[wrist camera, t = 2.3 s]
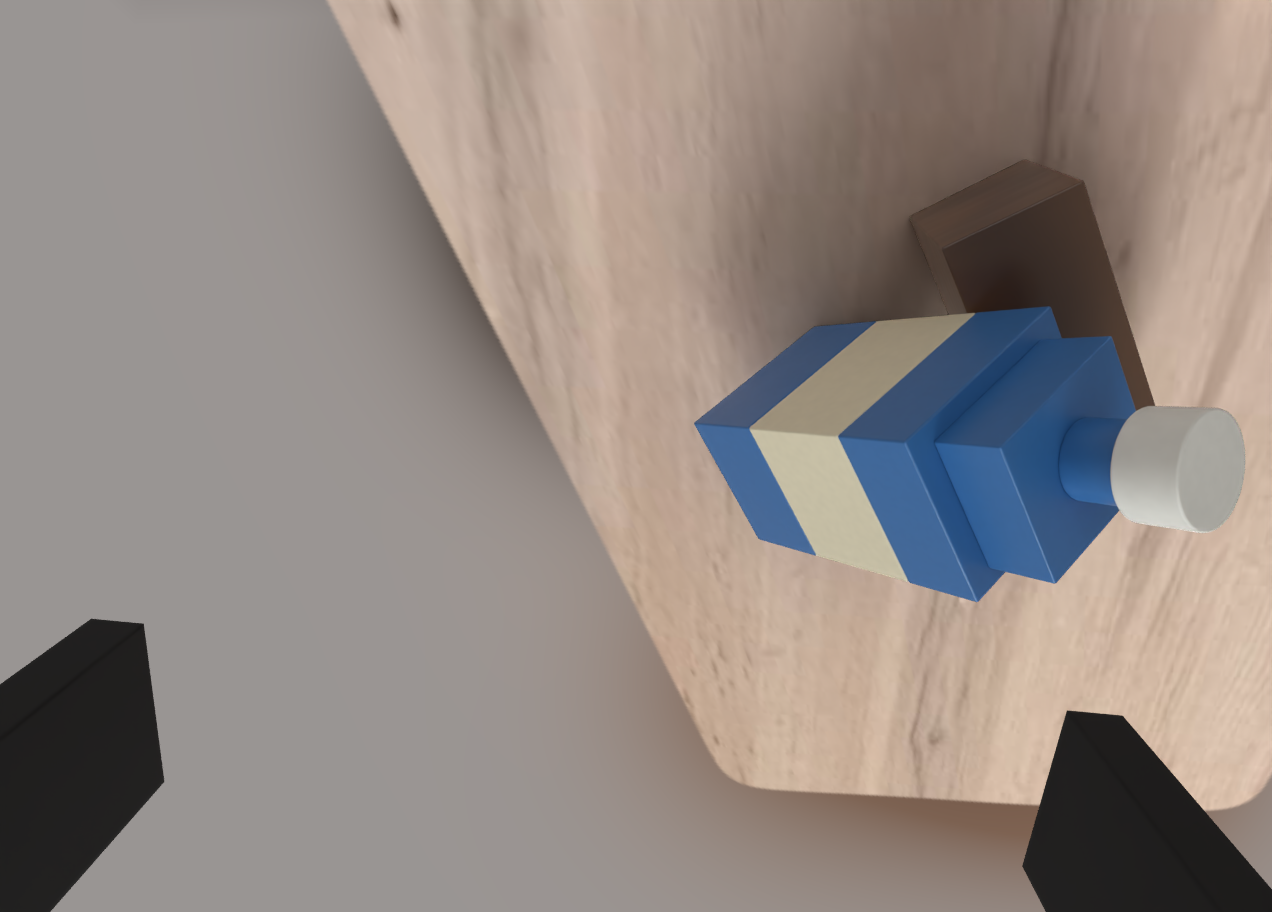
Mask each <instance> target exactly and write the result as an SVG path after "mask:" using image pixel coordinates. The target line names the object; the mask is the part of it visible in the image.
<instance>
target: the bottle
mask: <svg viewBox="0 0 1272 912" xmlns="http://www.w3.org/2000/svg"><path fill="white" fill-rule="evenodd" d="M694 424H695V426H696V428H697V430H698V431H699V433H700V435H701V437H702V439H703V440H704V442H705V444H706V446H707V448H708V449H709V451H710V453H711V455H712V456H713V458H714V460H715V462H716V464H717V465H718V467H719V469H720V471H721V473H722V474H723V476H724V478H725V480H726V481H727V483H728V485H729V487H730V489H731V490H732V492H733V494H734V496H735V498H736V499H737V501H738V503H739V505H740V506H741V508H742V510H743V512H744V514H745V515H746V517H747V519H748V521H749V523H750V524H751V526H752V528H753V530H754V532H755V533H756V535H757V537H758V539H760V540H763V541H767V542H770V543H774V544H777V545H781V546H784V547H788V548H791V549H795V550H798V551H802V552H805V553H808V554H812V555H817V556H819V557H822V558H826V559H829V560H833V561H836V562H840V563H843V564H847V565H850V566H854V567H857V568H861V569H864V570H867V571H871V572H874V573H878V574H881V575H885V576H888V577H892V578H895V579H899V580H902V581H906V582H908V581H909V582H910V583H912V584H916V585H919V586H923V587H926V588H930V589H933V590H937V591H940V592H944V593H947V594H951V595H954V596H957V597H961V598H964V599H968V600H971V601H975V602H978V601H979V600H980V599H981V598H982V597H983V596H984V595H985V594H986V593H987V591H988V590H989V589H990V588H991V587H992V586H993V585H994V584H995V583H996V582H997V580H998V579H999V578H1000V577H1001V576H1002V575H1003V574H1004V573H1005V572H1009V573H1013V574H1017V575H1021V576H1025V577H1029V578H1034V579H1038V580H1042V581H1046V582H1050V583H1057V582H1058V580H1059V579H1060V578H1061V577H1062V576H1063V575H1064V573H1065V572H1066V571H1067V570H1068V569H1069V568H1070V567H1071V565H1072V564H1073V563H1074V562H1075V561H1076V560H1077V559H1078V557H1079V556H1080V555H1081V554H1082V553H1083V552H1084V550H1085V549H1086V548H1087V547H1088V546H1089V545H1090V544H1091V542H1092V541H1093V540H1094V539H1095V538H1096V537H1097V536H1098V534H1099V533H1100V532H1101V531H1102V530H1103V529H1104V527H1105V526H1106V525H1107V524H1108V523H1109V522H1110V521H1111V519H1112V518H1113V517H1114V516H1115V515H1116V514H1117V513H1118V511H1119V510H1120V512H1121V513H1122V514H1123V515H1124V516H1125V517H1126V518H1127V519H1129V520H1131V521H1132V522H1135V523H1140V524H1146V525H1152V526H1159V527H1165V528H1172V529H1178V530H1185V531H1191V532H1198V533H1207V532H1211V531H1214V530H1216V529H1217V528H1219V527H1220V526H1221V525H1222V524H1223V523H1224V522H1225V521H1226V520H1227V519H1228V517H1229V516H1230V515H1231V513H1232V511H1233V509H1234V507H1235V505H1236V503H1237V501H1238V498H1239V495H1240V492H1241V488H1242V484H1243V479H1244V472H1245V447H1244V441H1243V437H1242V433H1241V430H1240V428H1239V425H1238V423H1237V422H1236V420H1235V419H1234V417H1233V416H1232V415H1231V414H1230V413H1228V412H1227V411H1225V410H1223V409H1220V408H1205V407H1170V406H1147V407H1143V408H1141V409H1139V410H1137V411H1136V409H1135V406H1134V403H1133V400H1132V397H1131V394H1130V391H1129V388H1128V385H1127V382H1126V379H1125V376H1124V373H1123V370H1122V367H1121V363H1120V360H1119V357H1118V354H1117V351H1116V348H1115V345H1114V342H1113V339H1112V337H1111V336H1103V337H1082V338H1062V337H1061V334H1060V332H1059V329H1058V326H1057V323H1056V320H1055V317H1054V315H1053V312H1052V309H1051V307H1049V306H1048V307H1036V308H1024V309H1013V310H1001V311H989V312H978V313H976V314H975V313H967V314H955V315H943V316H932V317H920V318H908V319H897V320H885V321H877V322H876V321H873V322H862V323H850V324H838V325H827V326H815V327H813V328H812V329H811V330H809V331H808V332H807V333H806V334H804V335H803V336H802V337H801V338H799V339H798V340H797V341H796V342H794V343H793V344H792V345H791V346H789V347H788V348H787V349H786V350H784V351H783V352H782V353H781V354H779V355H778V356H777V357H776V358H774V359H773V360H772V361H771V362H769V363H768V364H767V365H766V366H764V367H763V368H762V369H761V370H759V371H758V372H757V373H756V374H755V375H753V376H752V377H751V378H750V379H748V380H747V381H746V382H745V383H743V384H742V385H741V386H740V387H738V388H737V389H736V390H735V391H733V392H732V393H731V394H730V395H728V396H727V397H726V398H725V399H723V400H722V401H721V402H720V403H718V404H717V405H716V406H715V407H713V408H712V409H711V410H710V411H708V412H707V413H706V414H705V415H703V416H702V417H701V418H700V419H698V420H697V421H696V422H695V423H694Z"/></svg>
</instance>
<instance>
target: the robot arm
mask: <svg viewBox="0 0 1272 912" xmlns="http://www.w3.org/2000/svg"><path fill="white" fill-rule="evenodd" d="M163 783H164V776H163V769H162V761H161V753H160V745H159V738H158V730H157V722H156V715H155V707H154V699H153V692H152V685H151V676H150V669H149V661H148V653H147V646H146V638H145V631H144V624H141V623H129V622H119V621H108V620H97V619H90V620H89V621H88V622H86V623H85V624H83V625H82V626H81V627H79V628H78V629H76V630H75V631H74V632H72V633H71V634H69V635H68V636H67V637H65V638H64V639H63V640H61V641H60V642H58V643H57V644H56V645H54V646H53V647H51V648H50V649H49V650H47V651H46V652H45V653H43V654H42V655H40V656H39V657H38V658H36V659H35V660H33V661H32V662H31V663H29V664H28V665H26V666H25V667H24V668H22V669H21V670H20V671H18V672H17V673H15V674H14V675H13V676H11V677H10V678H8V679H7V680H6V681H4V682H3V683H1V684H0V912H50V911H51V910H52V909H53V908H54V907H55V906H56V904H57V903H58V902H59V901H60V900H61V899H62V897H64V895H65V894H66V893H67V892H68V891H69V890H70V889H71V887H72V886H73V885H74V884H75V883H76V882H77V881H78V880H79V878H80V877H81V876H82V875H83V874H84V873H85V872H86V870H87V869H88V868H89V867H90V866H91V865H92V864H93V862H94V861H95V860H96V859H97V858H98V857H99V856H100V854H101V853H102V852H103V851H104V850H105V849H106V847H107V846H108V845H109V844H110V843H111V842H112V841H113V840H114V838H115V837H116V836H117V835H118V834H119V833H120V832H121V830H122V829H123V828H124V827H125V826H126V825H127V824H128V822H129V821H130V820H131V819H132V818H133V817H134V816H135V814H136V813H137V812H138V811H139V810H140V809H141V808H142V807H143V805H144V804H145V803H146V802H147V801H148V800H149V798H150V797H151V796H152V795H153V794H154V793H155V792H156V791H157V789H158V788H159V787H160V786H161V784H163ZM1023 868H1024V870H1025V872H1026V874H1027V876H1028V878H1029V880H1030V882H1031V884H1032V886H1033V888H1034V890H1035V892H1036V893H1037V895H1038V897H1039V899H1040V901H1041V903H1042V905H1043V907H1044V909H1045V911H1046V912H1272V889H1271V888H1270V887H1269V886H1268V884H1267V883H1266V882H1265V881H1264V880H1263V879H1262V877H1261V876H1260V875H1259V874H1258V873H1257V872H1256V871H1255V869H1254V868H1253V867H1252V866H1251V865H1250V864H1249V862H1248V861H1247V860H1246V859H1245V858H1244V857H1243V855H1242V854H1241V853H1240V852H1239V851H1238V850H1237V849H1236V847H1235V846H1234V845H1233V844H1232V843H1231V842H1230V840H1229V839H1228V838H1227V837H1226V836H1225V834H1224V833H1223V832H1222V831H1221V830H1220V829H1219V827H1218V826H1217V825H1216V824H1215V823H1214V822H1213V821H1212V819H1211V818H1210V817H1209V816H1208V815H1207V813H1206V812H1205V811H1204V810H1203V809H1202V808H1201V807H1200V805H1199V804H1198V803H1197V802H1196V801H1195V800H1194V798H1193V797H1192V796H1191V795H1190V794H1189V793H1188V791H1187V790H1186V789H1185V788H1184V787H1183V786H1182V784H1181V783H1180V782H1179V781H1178V780H1177V779H1176V777H1175V776H1174V775H1173V774H1172V773H1171V772H1170V770H1169V769H1168V768H1167V767H1166V766H1165V765H1164V763H1163V762H1162V761H1161V760H1160V759H1159V758H1158V756H1157V755H1156V754H1155V753H1154V752H1153V751H1152V749H1151V748H1150V747H1149V746H1148V745H1147V744H1146V743H1145V741H1144V740H1143V739H1142V738H1141V737H1140V736H1139V734H1138V733H1137V732H1136V731H1135V730H1134V729H1133V727H1132V726H1131V725H1130V724H1129V723H1128V722H1127V720H1126V719H1125V718H1124V717H1123V716H1120V715H1109V714H1099V713H1088V712H1077V711H1067V713H1066V716H1065V720H1064V723H1063V726H1062V730H1061V733H1060V737H1059V740H1058V744H1057V747H1056V751H1055V754H1054V758H1053V761H1052V765H1051V768H1050V772H1049V775H1048V779H1047V782H1046V786H1045V789H1044V793H1043V796H1042V799H1041V803H1040V807H1039V810H1038V813H1037V817H1036V820H1035V824H1034V827H1033V831H1032V834H1031V838H1030V841H1029V845H1028V848H1027V852H1026V855H1025V859H1024V862H1023Z"/></svg>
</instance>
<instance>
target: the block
mask: <svg viewBox="0 0 1272 912" xmlns="http://www.w3.org/2000/svg"><path fill="white" fill-rule="evenodd" d="M910 220H911V223H912V225H913V228H914V230H915V233H916V235H917V238H918V240H919V243H920V245H921V248H922V250H923V253H924V255H925V257H926V260H927V262H928V265H929V267H930V270H931V272H932V275H933V277H934V280H935V282H936V285H937V287H938V290H939V292H940V295H941V297H942V299H943V302H944V304H945V307H946V309H947V312H948V314H949V315H955V314H967V313H975V314H976V313H978V312H989V311H1001V310H1013V309H1024V308H1036V307H1048V306H1049V307H1051V309H1052V312H1053V315H1054V317H1055V320H1056V323H1057V326H1058V329H1059V332H1060V334H1061V337H1062V338H1082V337H1103V336H1111V337H1112V339H1113V342H1114V345H1115V348H1116V351H1117V354H1118V357H1119V360H1120V363H1121V367H1122V370H1123V373H1124V376H1125V379H1126V382H1127V385H1128V388H1129V391H1130V394H1131V397H1132V400H1133V403H1134V406H1135V409H1136V411H1137V410H1139V409H1141V408H1143V407H1147V406H1155V404H1154V400H1153V397H1152V394H1151V391H1150V388H1149V385H1148V381H1147V378H1146V375H1145V372H1144V369H1143V366H1142V363H1141V359H1140V356H1139V353H1138V350H1137V347H1136V344H1135V341H1134V337H1133V334H1132V331H1131V328H1130V325H1129V322H1128V319H1127V315H1126V312H1125V309H1124V306H1123V303H1122V300H1121V297H1120V293H1119V290H1118V287H1117V284H1116V281H1115V278H1114V275H1113V271H1112V268H1111V265H1110V262H1109V259H1108V256H1107V253H1106V249H1105V246H1104V243H1103V240H1102V237H1101V234H1100V231H1099V227H1098V224H1097V221H1096V218H1095V215H1094V212H1093V209H1092V205H1091V202H1090V199H1089V196H1088V193H1087V190H1086V187H1085V183H1084V181H1082V180H1079V179H1077V178H1074V177H1071V176H1069V175H1066V174H1063V173H1061V172H1058V171H1055V170H1052V169H1050V168H1047V167H1044V166H1042V165H1039V164H1036V163H1034V162H1031V161H1028V160H1022V161H1020V162H1018V163H1016V164H1014V165H1012V166H1010V167H1008V168H1006V169H1004V170H1002V171H1000V172H998V173H996V174H994V175H992V176H990V177H988V178H986V179H984V180H982V181H980V182H978V183H976V184H974V185H972V186H970V187H968V188H966V189H964V190H962V191H960V192H958V193H956V194H954V195H952V196H950V197H948V198H946V199H944V200H942V201H940V202H938V203H935V204H933V205H931V206H929V207H927V208H925V209H923V210H921V211H919V212H917V213H915V214H913V215H911V216H910Z"/></svg>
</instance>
